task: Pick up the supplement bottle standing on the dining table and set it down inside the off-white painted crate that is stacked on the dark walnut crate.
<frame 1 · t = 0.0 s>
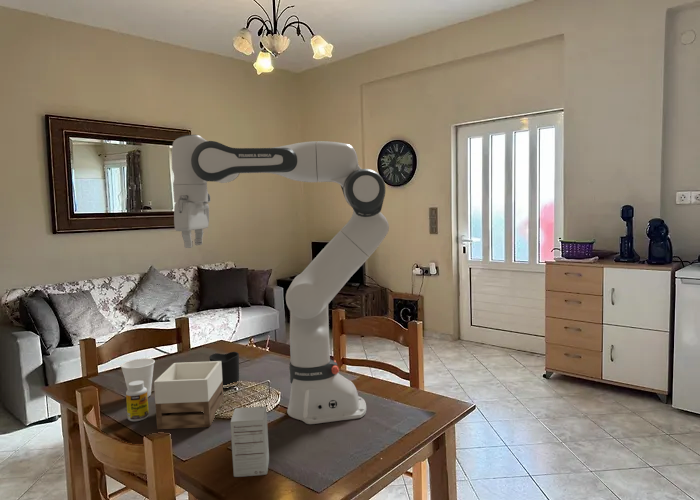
hand: (193, 246, 135), 48 cm above the table, tool pointing down, fingers open, 8 cm apart
supplement box: (252, 468, 109), on the table
cup: (140, 397, 154), on the table
supplement bottle: (138, 418, 138), on the table
upper crate: (190, 391, 138), resting on lower crate
lower crate: (192, 415, 139), on the table
pen holder: (225, 385, 163), on the table
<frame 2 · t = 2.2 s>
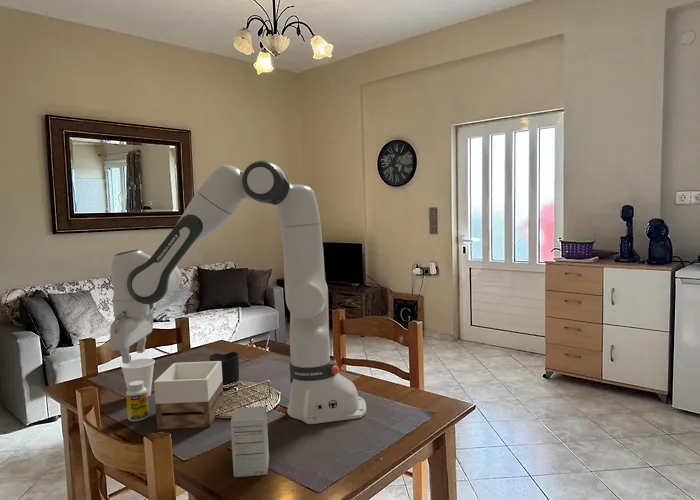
hand: (134, 357, 137), 18 cm above the table, tool pointing down, fingers open, 8 cm apart
nothing on the table moved.
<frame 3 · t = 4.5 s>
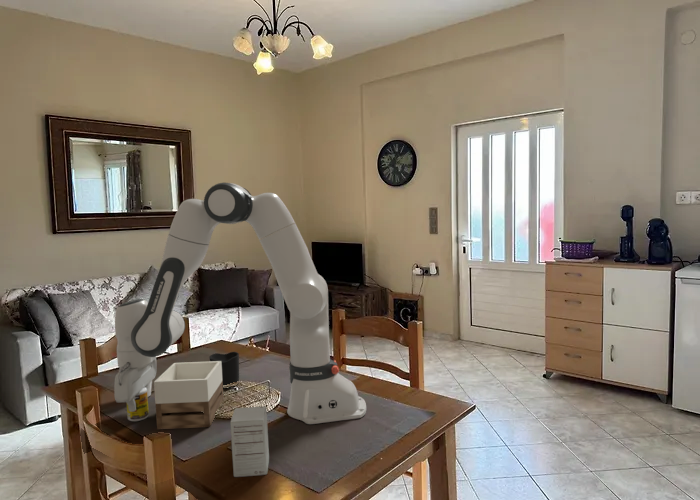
hand: (138, 405, 138), 4 cm above the table, tool pointing down, fingers closed on supplement bottle, 6 cm apart
supplement bottle: (138, 418, 138), on the table, touching gripper
everything else where it was.
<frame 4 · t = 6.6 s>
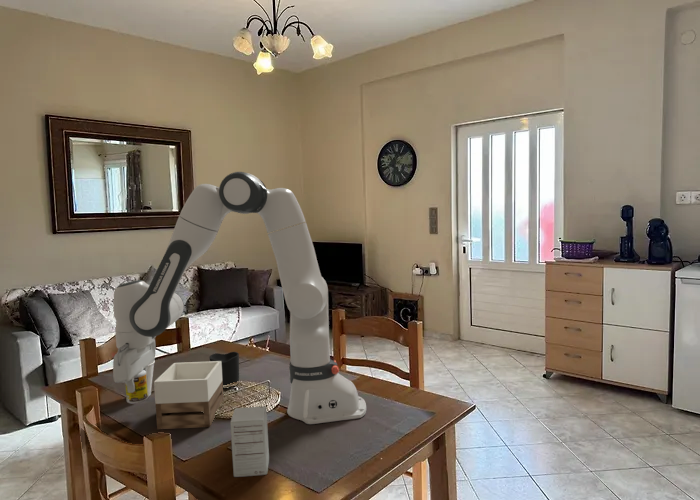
hand: (137, 387, 138), 9 cm above the table, tool pointing down, fingers closed on supplement bottle, 6 cm apart
supplement bottle: (137, 401, 138), point 5 cm above the table, touching gripper
everything else where it was.
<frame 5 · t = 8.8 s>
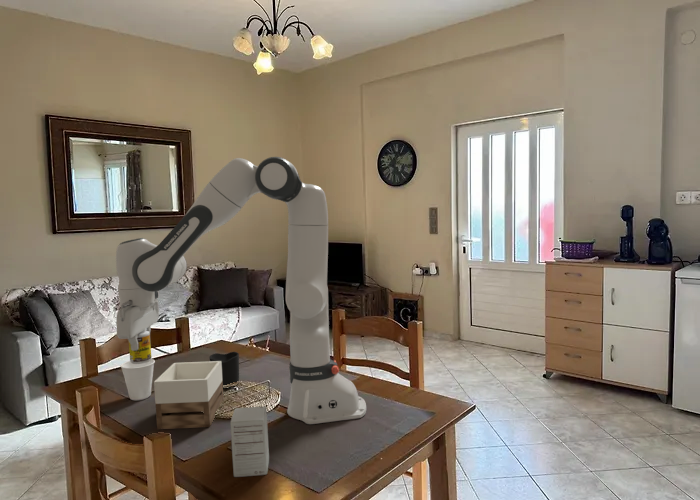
hand: (140, 346, 137), 21 cm above the table, tool pointing down, fingers closed on supplement bottle, 6 cm apart
supplement bottle: (141, 362, 137), point 16 cm above the table, touching gripper
everything else where it was.
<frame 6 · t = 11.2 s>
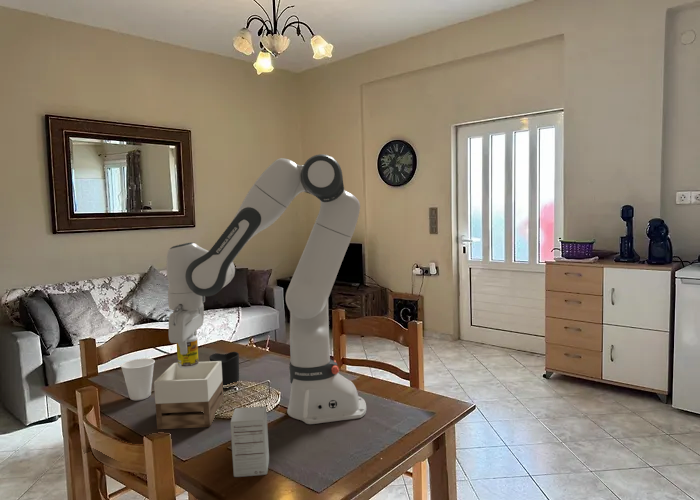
hand: (188, 350, 137), 19 cm above the table, tool pointing down, fingers closed on supplement bottle, 6 cm apart
supplement bottle: (188, 366, 137), point 14 cm above the table, touching gripper
everything else where it was.
when the fingers open (13 cm above the table, at t = 13.2 s): supplement bottle stays where it is, resting on upper crate.
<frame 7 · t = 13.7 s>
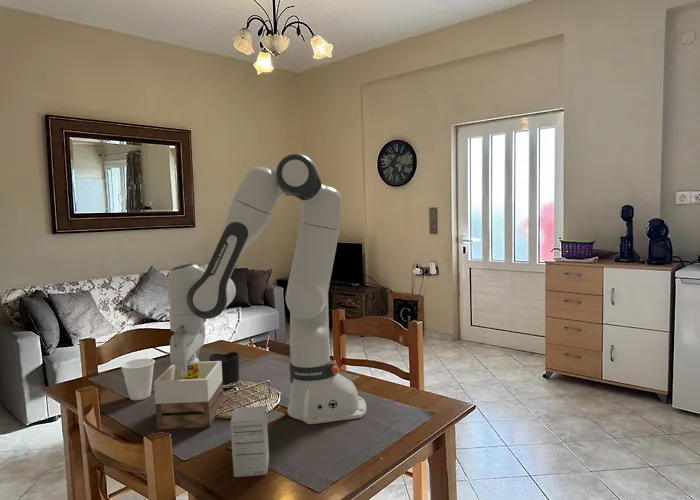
hand: (189, 370, 138), 13 cm above the table, tool pointing down, fingers open, 8 cm apart
supplement bottle: (190, 389, 138), point 8 cm above the table, touching upper crate
everything else where it was.
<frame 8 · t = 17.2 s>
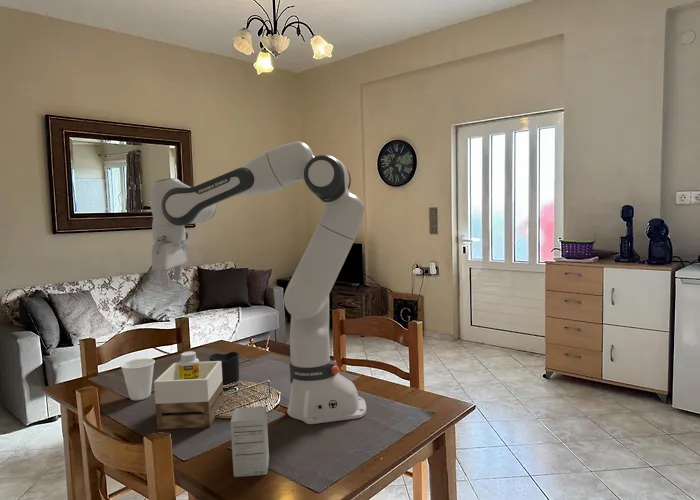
hand: (172, 282, 143), 37 cm above the table, tool pointing down, fingers open, 8 cm apart
nothing on the table moved.
at the end: supplement bottle inside the target area on the upper crate (0.1 cm from its centre), point 0.6 cm above the upper crate's base; supplement bottle tilted 0°; the gripper is holding nothing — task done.
